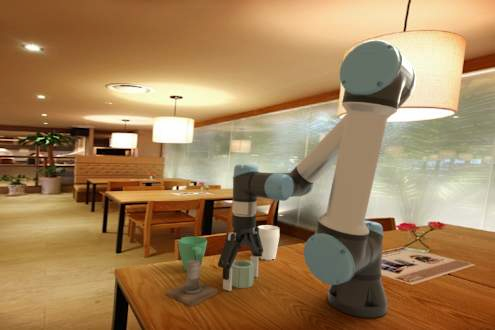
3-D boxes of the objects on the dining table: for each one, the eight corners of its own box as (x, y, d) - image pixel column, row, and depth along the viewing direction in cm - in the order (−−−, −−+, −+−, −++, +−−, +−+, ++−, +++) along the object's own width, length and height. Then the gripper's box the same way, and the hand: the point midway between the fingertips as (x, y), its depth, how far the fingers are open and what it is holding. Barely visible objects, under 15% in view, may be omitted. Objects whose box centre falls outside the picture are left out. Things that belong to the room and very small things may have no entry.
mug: (174, 265, 103) (175, 237, 103) (201, 262, 107) (202, 235, 107) (183, 281, 90) (184, 249, 90) (213, 277, 94) (214, 246, 94)
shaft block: (217, 293, 83) (218, 261, 83) (191, 306, 75) (192, 271, 75) (193, 283, 89) (194, 254, 89) (166, 294, 81) (167, 262, 81)
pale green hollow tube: (257, 282, 91) (257, 263, 91) (243, 289, 86) (244, 269, 86) (239, 276, 95) (240, 258, 95) (225, 283, 90) (226, 264, 90)
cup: (278, 254, 120) (279, 225, 120) (278, 262, 111) (279, 230, 111) (256, 253, 121) (257, 224, 121) (255, 260, 112) (256, 229, 112)
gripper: (256, 208, 103) (254, 268, 103) (207, 217, 83) (204, 292, 83) (275, 211, 98) (272, 273, 99) (227, 222, 78) (224, 300, 78)
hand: (241, 282), depth 91 cm, fingers open, 13 cm apart
